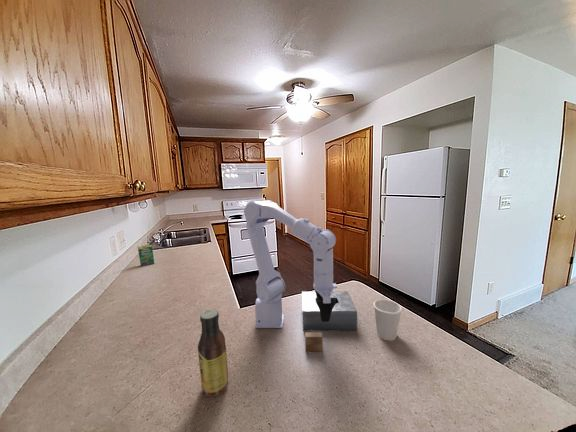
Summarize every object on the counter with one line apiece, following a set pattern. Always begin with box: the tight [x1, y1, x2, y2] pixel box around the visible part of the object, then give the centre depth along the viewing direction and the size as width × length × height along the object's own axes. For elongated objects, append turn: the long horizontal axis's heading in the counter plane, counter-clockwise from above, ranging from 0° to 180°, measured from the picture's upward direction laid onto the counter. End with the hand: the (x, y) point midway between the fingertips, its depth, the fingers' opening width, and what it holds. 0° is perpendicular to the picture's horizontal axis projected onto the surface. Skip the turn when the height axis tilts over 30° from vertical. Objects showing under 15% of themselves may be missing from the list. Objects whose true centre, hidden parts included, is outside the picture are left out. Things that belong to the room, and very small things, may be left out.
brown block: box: [304, 331, 324, 354], centre depth 65 cm, size 5×2×5 cm, turn 87°
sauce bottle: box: [197, 308, 229, 398], centre depth 53 cm, size 6×6×20 cm
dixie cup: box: [373, 299, 403, 342], centre depth 71 cm, size 8×8×10 cm
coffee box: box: [137, 244, 155, 267], centre depth 146 cm, size 8×3×13 cm, turn 125°
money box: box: [301, 290, 358, 332], centre depth 81 cm, size 18×14×7 cm
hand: (323, 313), depth 68 cm, fingers open, 7 cm apart
